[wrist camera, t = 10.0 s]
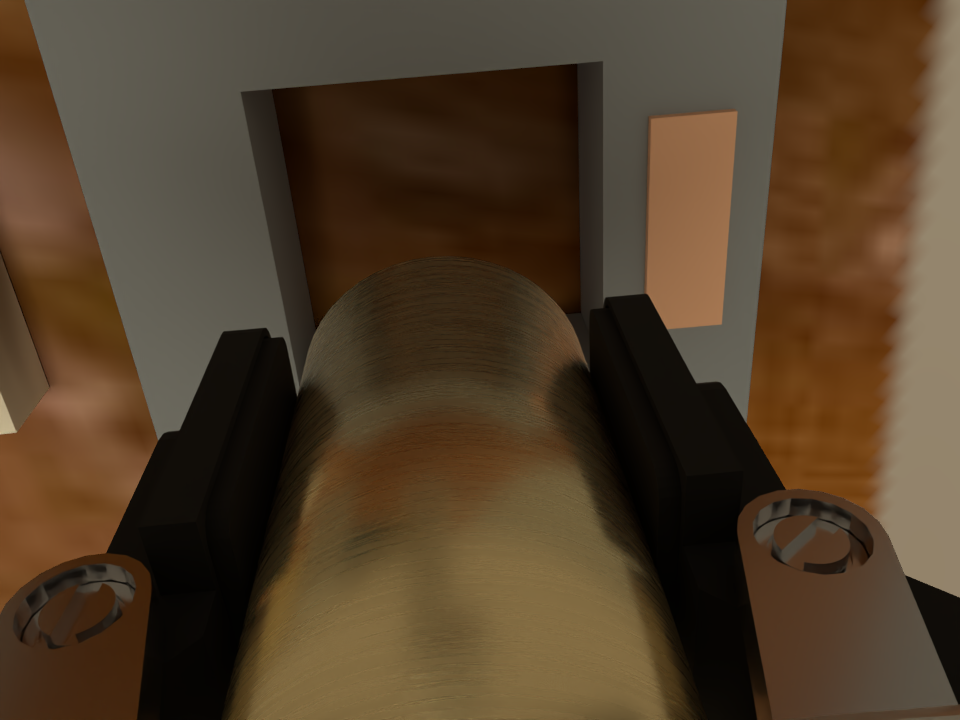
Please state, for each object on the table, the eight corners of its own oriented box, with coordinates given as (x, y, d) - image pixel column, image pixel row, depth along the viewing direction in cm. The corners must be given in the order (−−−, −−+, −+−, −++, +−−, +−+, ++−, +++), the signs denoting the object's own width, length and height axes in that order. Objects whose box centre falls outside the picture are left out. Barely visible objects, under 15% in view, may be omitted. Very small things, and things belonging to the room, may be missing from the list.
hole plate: (62, -103, 16) (-11, -100, 14) (742, -159, 17) (807, -165, 14) (213, 456, 23) (184, 537, 20) (704, 411, 23) (743, 485, 20)
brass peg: (280, 270, 11) (62, 888, 4) (582, 243, 12) (832, 808, 5) (328, 509, 13) (228, 1198, 6) (585, 484, 13) (763, 1138, 6)
